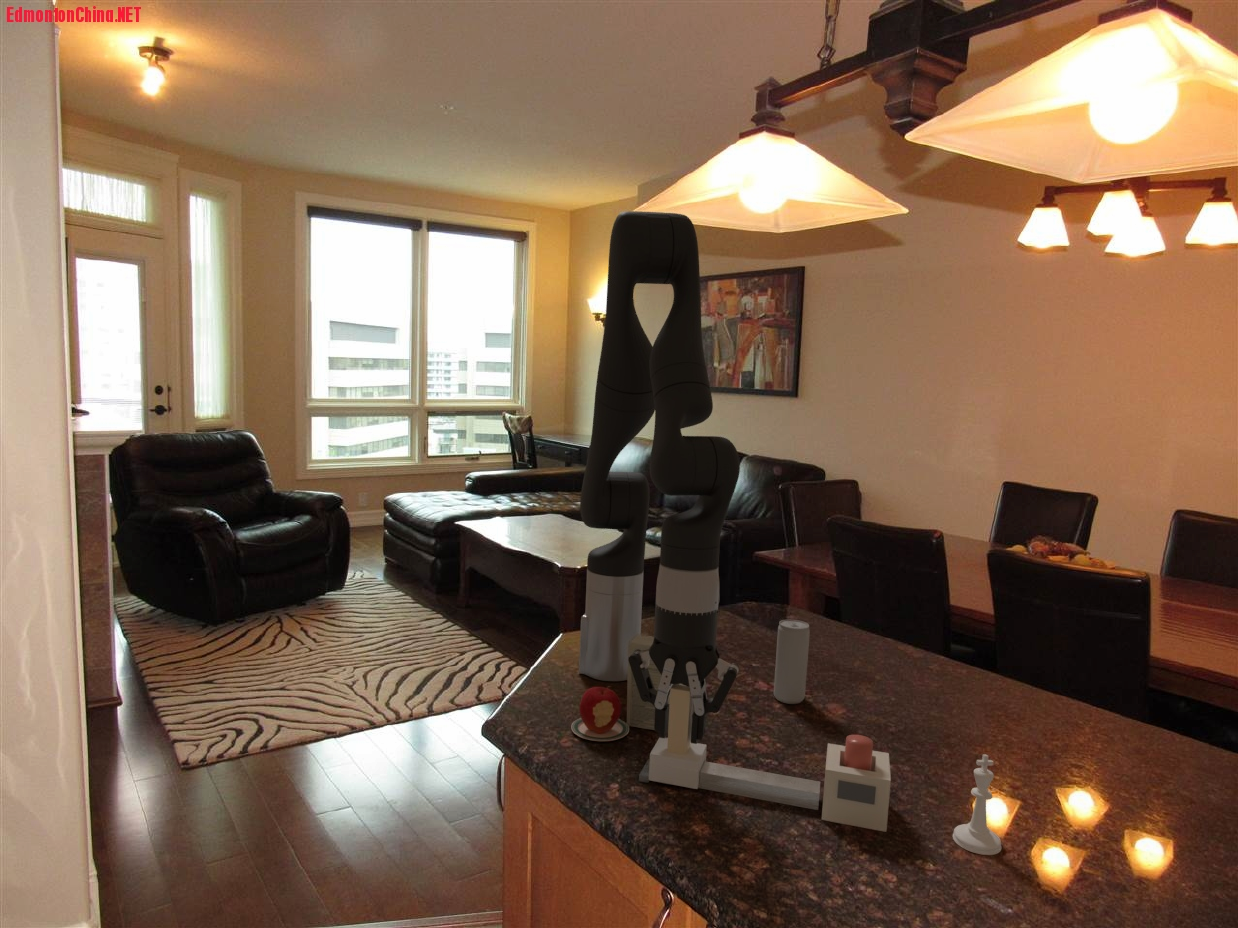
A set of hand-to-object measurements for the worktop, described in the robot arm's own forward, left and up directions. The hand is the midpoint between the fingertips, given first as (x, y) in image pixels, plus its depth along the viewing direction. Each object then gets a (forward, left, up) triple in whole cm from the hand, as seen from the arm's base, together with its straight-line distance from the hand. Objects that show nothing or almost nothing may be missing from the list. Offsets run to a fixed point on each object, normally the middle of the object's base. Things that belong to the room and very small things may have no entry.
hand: (679, 737), depth 101 cm
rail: (+7, 0, -5) cm, 9 cm away
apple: (-13, +9, -5) cm, 17 cm away
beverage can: (+11, +31, -5) cm, 33 cm away
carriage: (0, 0, -5) cm, 5 cm away
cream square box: (+21, 0, -5) cm, 22 cm away
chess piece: (+34, -2, -5) cm, 34 cm away
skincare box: (-7, +14, -5) cm, 17 cm away
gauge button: (+21, 0, -2) cm, 21 cm away
